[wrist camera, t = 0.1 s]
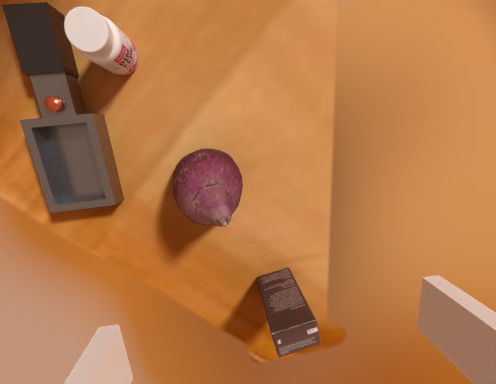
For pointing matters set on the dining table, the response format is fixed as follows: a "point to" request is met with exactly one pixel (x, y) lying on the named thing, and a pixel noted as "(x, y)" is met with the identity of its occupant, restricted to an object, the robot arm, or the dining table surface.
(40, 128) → the shallow gray tray
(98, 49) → the pill bottle
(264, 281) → the box
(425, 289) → the robot arm
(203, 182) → the vegetable
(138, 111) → the dining table surface
